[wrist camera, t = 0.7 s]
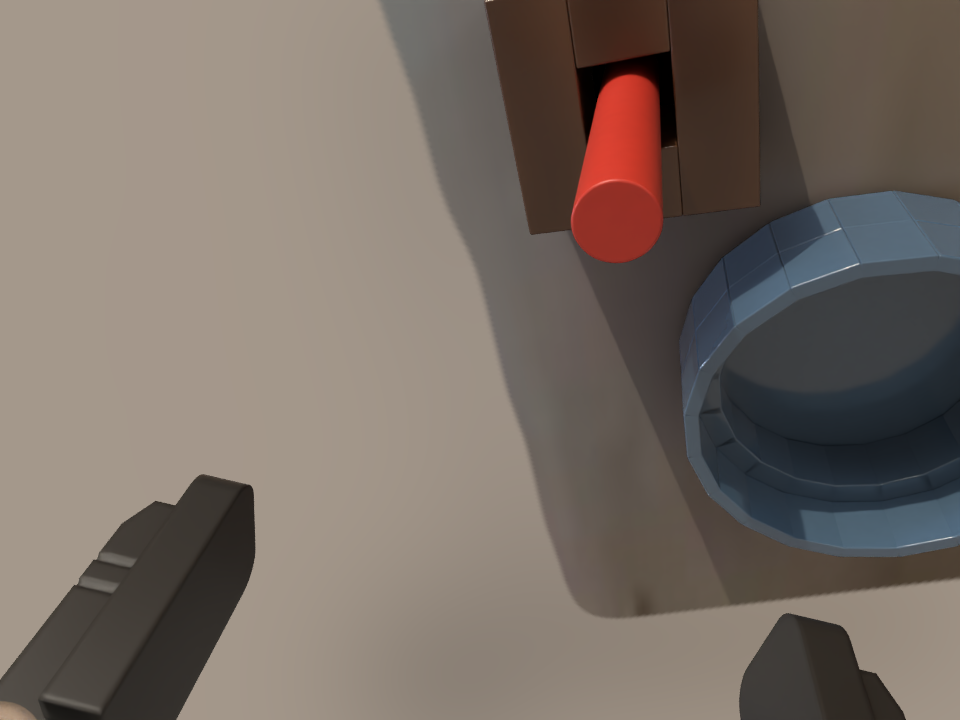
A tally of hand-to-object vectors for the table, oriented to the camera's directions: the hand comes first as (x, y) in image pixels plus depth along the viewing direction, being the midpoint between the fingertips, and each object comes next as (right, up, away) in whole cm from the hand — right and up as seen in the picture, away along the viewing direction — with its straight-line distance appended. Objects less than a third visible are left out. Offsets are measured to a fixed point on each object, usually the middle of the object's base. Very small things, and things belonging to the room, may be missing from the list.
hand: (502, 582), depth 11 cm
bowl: (+16, +4, +21) cm, 26 cm away
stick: (+5, +14, +16) cm, 22 cm away
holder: (+5, +14, +16) cm, 22 cm away
